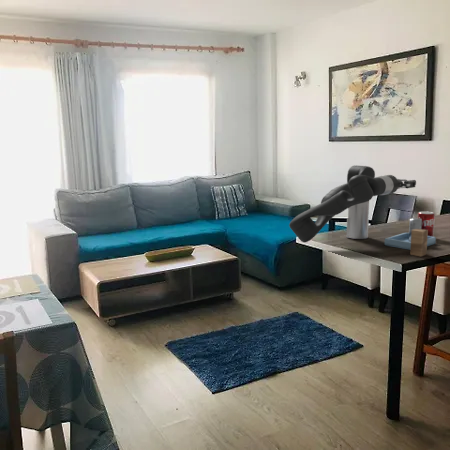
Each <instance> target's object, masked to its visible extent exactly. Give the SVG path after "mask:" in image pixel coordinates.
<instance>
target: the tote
mask: <svg viewBox="0 0 450 450" xmlns="http://www.w3.org/2000/svg"><path fill="white" fill-rule="evenodd" d="M436 238H437V237H436V236H433V237H432V236H428V237H427V247H429V246H433V245H436V240H437V239H436ZM384 246H387V247H393V248H397V249H403V250H409V251H410V250H411V242H409V232H402V233H400V234H399V233H398V234H396V235H392V236H389V237H385V238H384Z"/></svg>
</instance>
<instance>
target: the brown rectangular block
mask: <svg viewBox="0 0 450 450" xmlns="http://www.w3.org/2000/svg"><path fill="white" fill-rule="evenodd" d="M427 237H428V230H424V229H414V230H412V232H411V250H409V252H410V253H409V254H410V255H411V256H416V257H423V256H426V255H427V251H428V246H427Z"/></svg>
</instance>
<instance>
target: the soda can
mask: <svg viewBox="0 0 450 450" xmlns="http://www.w3.org/2000/svg"><path fill="white" fill-rule="evenodd" d="M435 216H436V214H435V212H433V211H425V210H423V211H418V212H417V217H416V218H420V219H422V224H421V229H424V230H428V236H432V237H434V232H435V219H436V218H435Z"/></svg>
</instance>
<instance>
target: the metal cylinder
mask: <svg viewBox="0 0 450 450" xmlns="http://www.w3.org/2000/svg"><path fill="white" fill-rule="evenodd" d="M408 220H409V223H408V224H409V225H408V227H409V228H408V233H409V242H411V232H412V230H414V229H421V224H422V219H420V218H417V217H411V218H409V219H408Z"/></svg>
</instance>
